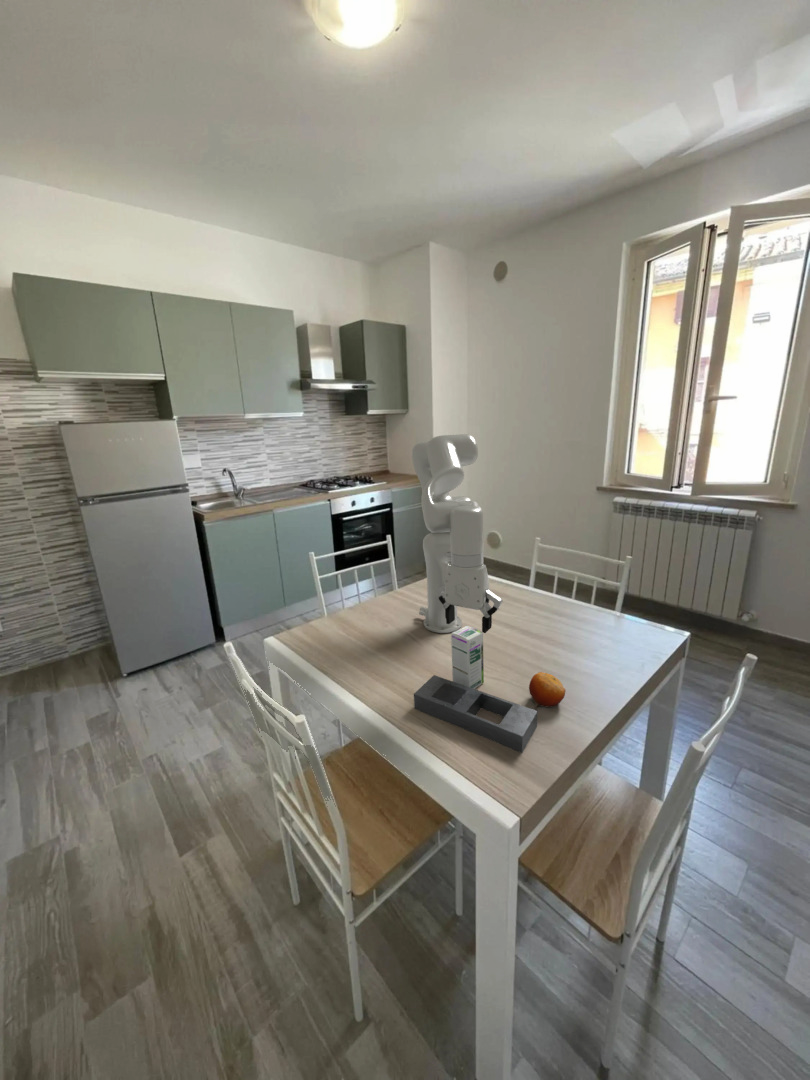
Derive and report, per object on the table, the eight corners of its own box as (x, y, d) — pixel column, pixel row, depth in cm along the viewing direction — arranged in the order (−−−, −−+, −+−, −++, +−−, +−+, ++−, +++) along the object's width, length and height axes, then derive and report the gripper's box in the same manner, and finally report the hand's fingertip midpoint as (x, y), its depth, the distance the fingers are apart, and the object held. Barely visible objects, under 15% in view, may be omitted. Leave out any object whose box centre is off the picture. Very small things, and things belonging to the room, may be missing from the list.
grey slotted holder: (414, 708, 100) (413, 693, 98) (434, 688, 107) (434, 674, 105) (522, 753, 85) (522, 736, 84) (537, 726, 92) (537, 710, 91)
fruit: (516, 688, 103) (533, 662, 101) (542, 700, 104) (560, 674, 103) (528, 709, 95) (547, 681, 94) (556, 722, 97) (576, 694, 95)
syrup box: (469, 693, 104) (469, 640, 100) (451, 683, 109) (450, 631, 105) (484, 683, 108) (484, 631, 104) (466, 674, 112) (466, 624, 108)
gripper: (427, 558, 101) (429, 624, 105) (495, 568, 91) (494, 641, 95) (443, 550, 107) (444, 613, 111) (508, 559, 97) (507, 628, 101)
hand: (467, 626), depth 103 cm, fingers open, 9 cm apart
